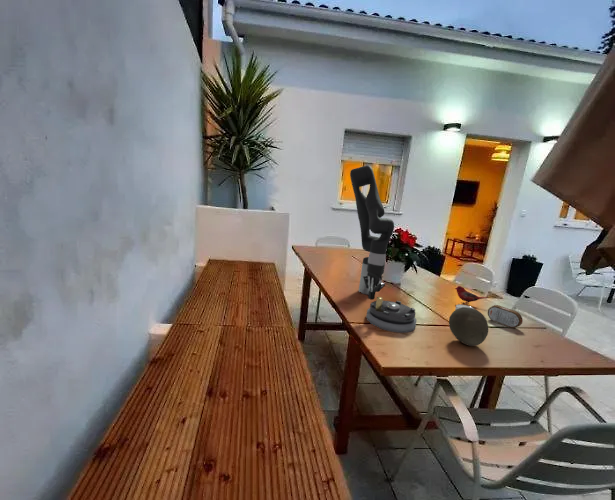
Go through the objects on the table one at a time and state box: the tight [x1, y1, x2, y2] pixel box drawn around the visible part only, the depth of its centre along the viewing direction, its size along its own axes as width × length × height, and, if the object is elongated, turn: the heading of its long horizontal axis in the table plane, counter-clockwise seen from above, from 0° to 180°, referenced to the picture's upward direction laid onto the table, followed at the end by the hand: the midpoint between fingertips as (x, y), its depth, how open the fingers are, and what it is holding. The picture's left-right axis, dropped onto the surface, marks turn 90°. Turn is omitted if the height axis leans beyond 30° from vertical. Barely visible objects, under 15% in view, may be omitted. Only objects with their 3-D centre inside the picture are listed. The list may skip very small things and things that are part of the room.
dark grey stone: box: [448, 307, 489, 347], centre depth 125 cm, size 14×14×15 cm
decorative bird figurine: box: [454, 285, 489, 305], centre depth 177 cm, size 3×18×10 cm, turn 71°
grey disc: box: [369, 296, 416, 324], centre depth 140 cm, size 20×20×9 cm
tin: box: [487, 304, 524, 329], centre depth 152 cm, size 15×3×8 cm, turn 36°
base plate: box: [365, 307, 417, 333], centre depth 141 cm, size 22×22×3 cm
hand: (371, 299), depth 141 cm, fingers closed
